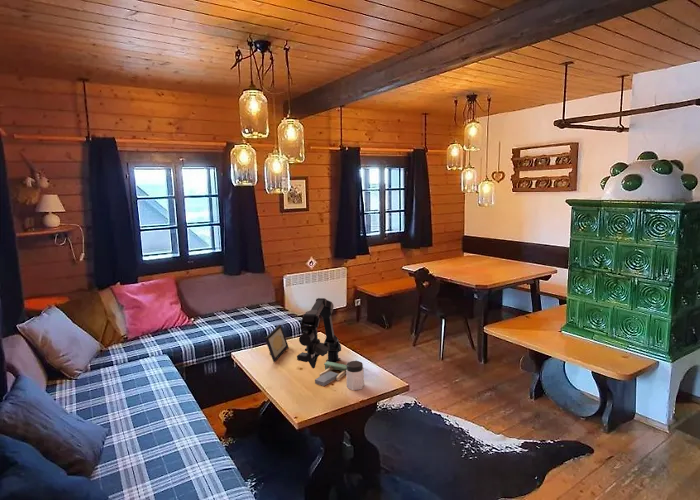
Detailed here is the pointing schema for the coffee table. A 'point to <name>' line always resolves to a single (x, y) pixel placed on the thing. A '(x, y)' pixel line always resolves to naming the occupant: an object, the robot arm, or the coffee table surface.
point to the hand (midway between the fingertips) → (313, 368)
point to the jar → (355, 375)
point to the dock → (331, 365)
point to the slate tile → (326, 378)
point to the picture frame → (276, 343)
